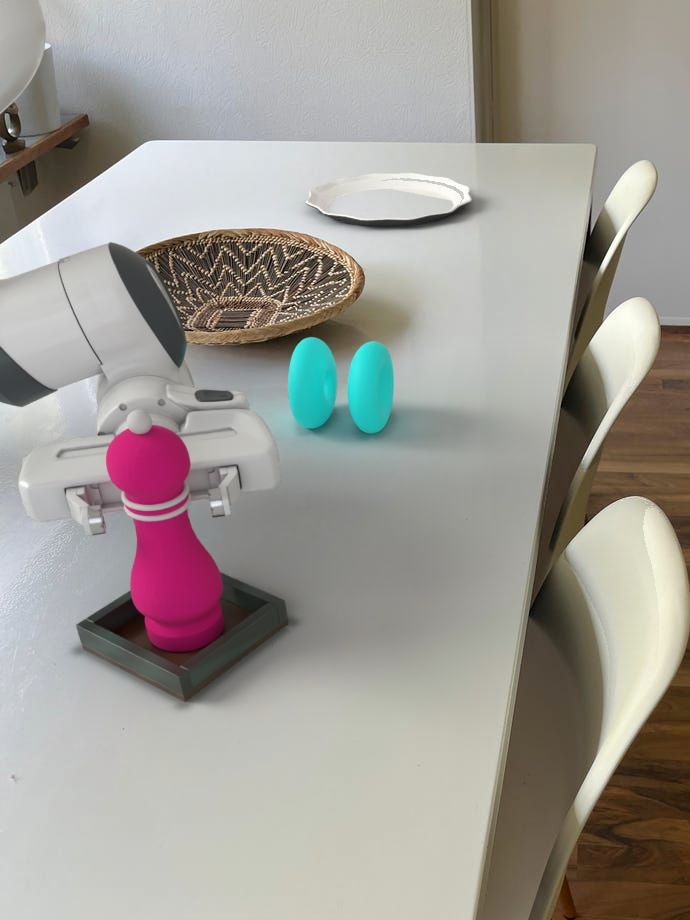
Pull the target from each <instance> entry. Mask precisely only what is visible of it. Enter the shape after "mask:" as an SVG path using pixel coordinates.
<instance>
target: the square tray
mask: <svg viewBox="0 0 690 920" xmlns="http://www.w3.org/2000/svg"><path fill="white" fill-rule="evenodd" d="M219 572H220V575H221V578H222V583H223V591H222V594H221V597H220V599H219V601H218V602H219V603H220V605H221V609H222V614H223V619H224V628H223V631H222V632H221V634H220V635H219V637H218V638H217V639H215V640H214V641H213V642H212V643H210V644H209V645H207V646H205V647H202V648H200V649H196V650H193V651H188V652H170V651H166V650H162V649H160V648H158V647H156V646H155V645H154V644H153V643H152V642H151V641H150V640H149V637H148V633H147V629H146V625H145V616H144V615H143V614H142V613H140V612H139V611H138V609H137V608H136V607H135V605H134V603H133V600H132V595H131V589H130V590H129V591H127V592H125V593H124V594H122V595H121V596H119V597H117V598H116V599H114V600H113V601H111V602H109V603H108V604H106V605H105V606H103V607H102V608H100V609H99V610H97V611H96V612H94V613H92V614H91V615H89V616H87V617H86V618H84V619H82V620H81V621H80V622H78V623H75V628H76V631H77V634H78V637H79V640H80V644H81V647H82V649H83V650H84V651H86V652H88V653H90V654H92V655H94V656H95V657H98V658H99V659H101V660H103V661H105V662H107V663H109V664H111V665H112V666H115V667H116V668H118V669H120V670H123V671H124V672H126V673H128V674H130V675H132V676H134V677H136V678H138V679H139V680H141V681H143V682H145V683H147V684H149V685H151V686H153V687H154V688H156V689H159V690H161V691H163V692H164V693H167V694H169V695H170V696H172V697H174V698H176V699H177V700H180V701H182V702H184V703H186V702H188V701H189V700H190V699H192V697H194V696H195V695H197V694H198V693H199V692H200V691H202V690H203V689H204V688H206V687H207V686H208V685H210V684H211V683H213V681H215V680H217V678H219V677H220V676H222V675H223V674H224V673H226V672H227V671H228V670H230V669H231V668H232V667H233V666H235V665H236V664H238V663H239V662H241V661H242V660H243V659H244V658H245V657H247V656H248V655H250V654H251V653H252V652H254V651H255V650H257V649H258V648H259V647H260V646H261V645H263V644H264V643H265V642H267V641H268V640H269V639H271V638H272V637H273V636H275V635H276V634H277V633H279V632H280V631H281V630H283V629H284V628H285V627H286V626H288V625H289V619H288V612H287V606H286V605H287V604H286V600H285V599H284V598H281V597H279V596H276V595H274V594H272V593H269V592H267V591H266V590H262V589H260V588H258V587H255V586H253V585H251V584H249V583H247V582H245V581H242V580H240V579H237V578H235V577H233V576H230V575H228V574H225V573H223V572H221V571H219Z"/></svg>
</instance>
